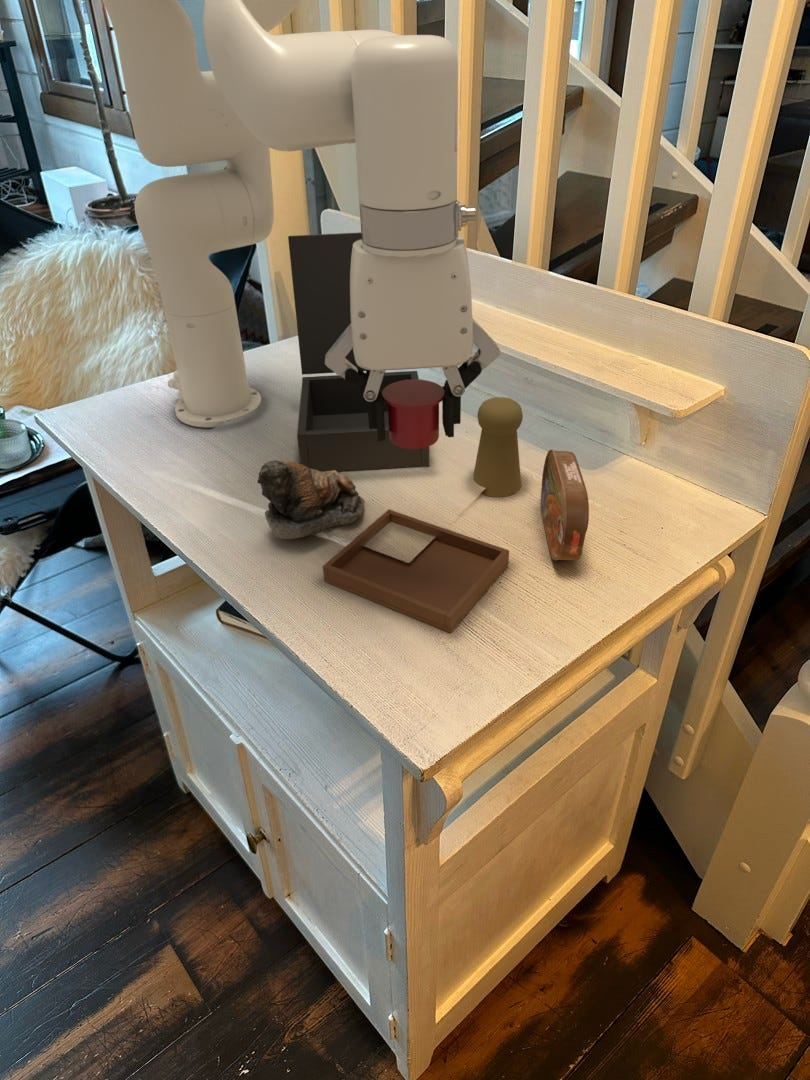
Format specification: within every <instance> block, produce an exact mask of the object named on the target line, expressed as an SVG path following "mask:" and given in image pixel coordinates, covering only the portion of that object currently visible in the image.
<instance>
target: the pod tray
mask: <svg viewBox="0 0 810 1080" xmlns="http://www.w3.org/2000/svg"><path fill="white" fill-rule="evenodd" d="M390 522H392V523H395V524H398V525H400V526H404V527H407V528H410V529H413V530H415V531H418V532H421V533H424V534H427V535H430V536H432V537H434V538H432V540H431V541H430V542H429V543H428V544H427V545H426V546H424V548H423V549H421V551H419V553H418V554H416V556H414V557H413V559H411V560H410V561H409V562H407V561H405V560H402V559H399V558H396V557H393V556H392V555H388V554H385V553H383V552H380V551H377V550H375V549H373V548H369V547H367V546H365V544H366V543H368V541H370V540H371V539H372V538H373V537H374V536H375V535H377V534H378V533H379V532H380V531H381V530H382V529H383V528H385V527H386V526H387V525H388V524H389V523H390ZM509 557H510V550H509V549H506V548H503V547H501V546H497V545H495V544H491V543H489V542H486V541H483V540H480V539H477V538H474V537H471V536H467V535H465V534H462V533H459V532H456V531H453V530H451V529H447V528H445V527H442V526H440V525H439V526H438V525H435V524H433V523H429V522H428V521H424V520H421V519H418V518H416V517H412V516H409V515H407V514H404V513H401V512H398V511H394V510H391V509H387V511H385V512H384V513H383V514H382V515H381V516H379V517H378V518H376V520H375V521H374V522H372V523H371V524H370V525H369V526H367V528H365V529H364V530H363V531H362V532H361V533H360V534H358V535H357V536H356V537H355V538H353V539H352V540H351V542H349V543H348V544H347V545H346V546H344V547H343V548H342V549H341V550H339V552H337V553H336V554H335V555H334V556H333V557H332V558H330V560H328V561H327V562H326V563H325V564H324V565H322V572H323V581H324V582H325V583H327V584H330V585H332V586H336V587H337V588H340V589H342V590H345V591H347V592H350V593H352V594H355V595H357V596H359V597H362V598H365V599H367V600H369V601H372V602H374V603H376V604H379V605H382V606H384V607H385V608H389V609H391V610H394V611H396V612H398V613H401V614H404V615H406V616H408V617H411V618H413V619H416V620H418V621H420V622H423V623H425V624H427V625H429V626H432V627H435V628H437V629H439V630H443V631H445V632H447V633H449V634H451V633H452V632H453V631H454V630H455V628H456V627H457V626H458V625H459V624H460V622H461V621H462V620H463V619H464V618H465V617H466V616H467V614H468V613H470V611H471V610H472V609H473V607H474V606H475V605H477V603H478V602H479V601H480V600H481V598H482V597H483V596H484V595H485V593H486V592H487V591H488V590H489V589H490V588H491V586H492V585H493V584H494V583H495V582H496V580H498V578H499V577H500V576H501V575H502V573H503V572H504V571H505V570H506V568H508V566H509V562H510V558H509Z"/></svg>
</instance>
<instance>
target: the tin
mask: <svg viewBox="0 0 810 1080" xmlns="http://www.w3.org/2000/svg"><path fill="white" fill-rule="evenodd" d="M588 495H589V494H588V491H587V488H586V484H585V481H584V478H583V474H582V471H581V469H580V465H579V462H578V459H577V457H576V455H575V453H574V452H572V451H567V450H554V449H549V450H548V451H547V454H546V456H545V460H544V463H543V469H542V477H541V489H540V510H541V518H542V522H543V527H544V531H545V537H546V541H547V546H548V550H549V554H550V558H551V559H552V561H558V560H560V561H577V560H579V559H580V558H581V557H582V555H583V547H584V544H585V540H586V539H585V538H586V534H587V532H588V528H589V520H590V519H589V518H590V516H589V515H590V504H589V496H588Z"/></svg>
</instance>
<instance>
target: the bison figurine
mask: <svg viewBox="0 0 810 1080" xmlns="http://www.w3.org/2000/svg"><path fill="white" fill-rule="evenodd" d="M257 475H258V478H257V484H259V485H260V487H261V495H262V496H263V497H265V498H266V499H267V500H268V501H269V502H268V505H267V506H268V509H267V510H266V511H264V517H265V520H266V522H267V524H268V526H269V528H270V531H271V532H272V534H273V535H274V537H277V538H279V539H283V540H295V539H301V538H304V537H308V536H311V535H312V536H313V535H315V534H319V533H322V532H324V531H325V530H328V529H330V528H333V527H336V526H337V527H338V526H347V525H352V524H353V523H355V521H357V520H358V519H359V518H360V517H361V516H362V515H363V512H364V510H365V505H366V503H365V499H364V498H363V497H361V495H360V494H359V492H358V491H357V490H356V489H357V487H356V485H355V484H354V482H353V481H352V479H350V478H349V477H348V476H347V475H346V474H344V473H342V472H337V471H335V470H333V471H326V472H321V471H318V470H315V469H310V468H307V467H306V466H304V465H301V463H298V462H296V461H286V460H284V461H280V460H271V461H268V462H265V463H264V464H263V465H262V466H261V467H260V470H259V471H258V474H257Z"/></svg>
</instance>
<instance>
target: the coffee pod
mask: <svg viewBox="0 0 810 1080" xmlns="http://www.w3.org/2000/svg"><path fill="white" fill-rule="evenodd" d="M444 396H445V391H444V389H443V388H442V385H440V384H439V383H437V382H434V381H431V380H426V379H420V378H419V379H410V380H402V381H398V382H394V383H392V384H390V385H388V386H386V387H385V388H384V389H383V391H382V397H383V400H384V401H385V402H386V403H387V404H388V418H389V439H390V441H391V442H392V443H393V444H394V445H396V446H398V447H401V448H406V449H420V448H425V447H429V448H430V447H431V446H433V445H434V444H436V443H437V442H438V441H439V439H440V438H439V437H440V403H442V400H443V399H444Z"/></svg>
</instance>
